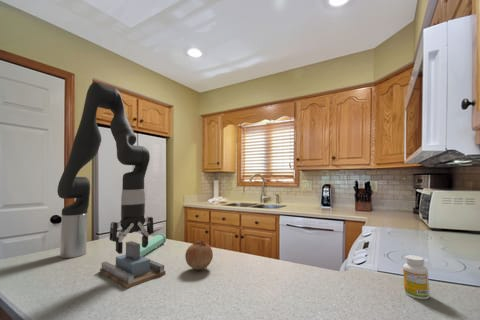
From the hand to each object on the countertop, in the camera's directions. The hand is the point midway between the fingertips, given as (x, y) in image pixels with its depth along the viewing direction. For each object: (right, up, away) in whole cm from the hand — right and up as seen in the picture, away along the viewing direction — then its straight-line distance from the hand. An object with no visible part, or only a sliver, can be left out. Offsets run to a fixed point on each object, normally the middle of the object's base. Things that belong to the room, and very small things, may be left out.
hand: (132, 250), depth 83 cm
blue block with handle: (0, -7, -1) cm, 7 cm away
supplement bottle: (+84, -5, -19) cm, 86 cm away
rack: (0, -8, -1) cm, 8 cm away
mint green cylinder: (-4, -10, +23) cm, 25 cm away
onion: (+23, -8, +1) cm, 24 cm away
